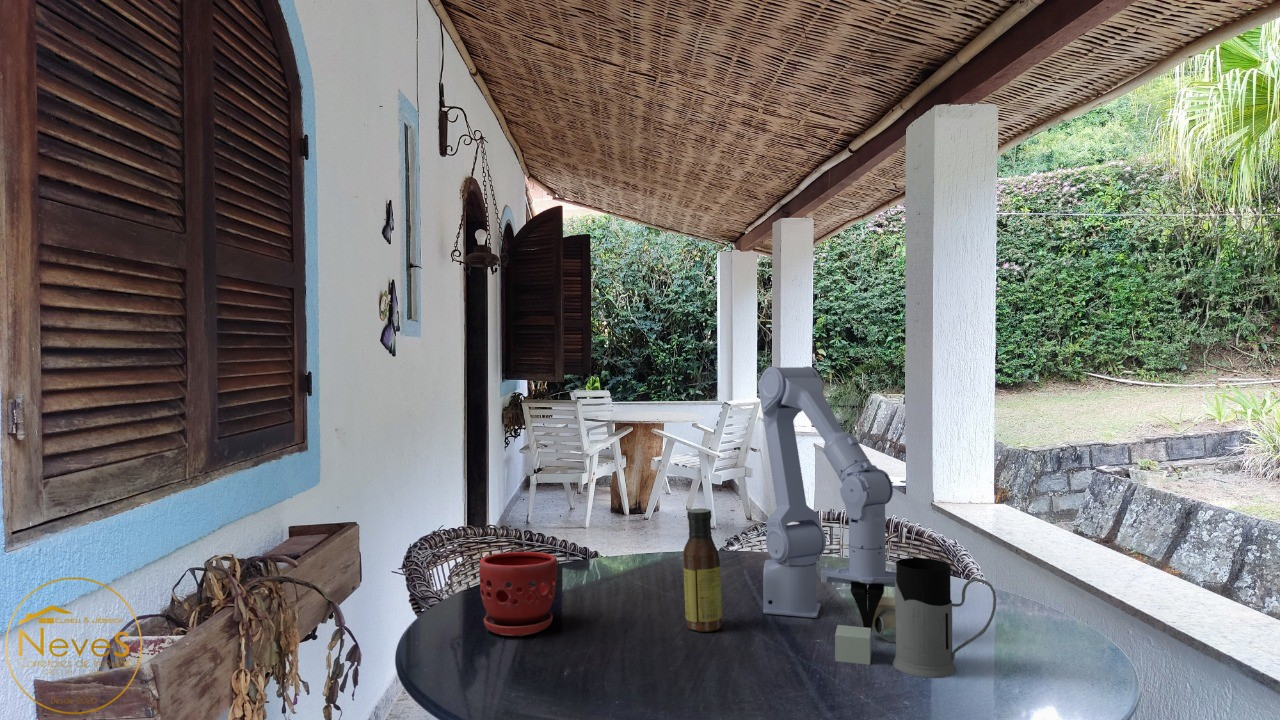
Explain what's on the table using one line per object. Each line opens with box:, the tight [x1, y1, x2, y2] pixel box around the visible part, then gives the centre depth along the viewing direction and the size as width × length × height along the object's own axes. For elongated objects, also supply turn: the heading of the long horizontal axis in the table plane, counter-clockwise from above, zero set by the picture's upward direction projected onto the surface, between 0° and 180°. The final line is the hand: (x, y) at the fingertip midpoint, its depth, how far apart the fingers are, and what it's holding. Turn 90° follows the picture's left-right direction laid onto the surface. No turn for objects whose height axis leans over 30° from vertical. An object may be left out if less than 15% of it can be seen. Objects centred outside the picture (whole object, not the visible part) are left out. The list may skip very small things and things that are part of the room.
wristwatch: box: [874, 608, 896, 643], centre depth 128 cm, size 3×5×5 cm, turn 98°
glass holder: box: [892, 557, 997, 679], centre depth 116 cm, size 9×14×15 cm, turn 60°
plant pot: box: [478, 551, 558, 638], centre depth 136 cm, size 13×13×12 cm
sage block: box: [834, 624, 872, 666], centre depth 121 cm, size 5×5×4 cm
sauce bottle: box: [682, 507, 723, 633], centre depth 136 cm, size 7×6×20 cm
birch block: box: [867, 595, 896, 630], centre depth 137 cm, size 5×5×4 cm
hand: (868, 630), depth 129 cm, fingers closed
